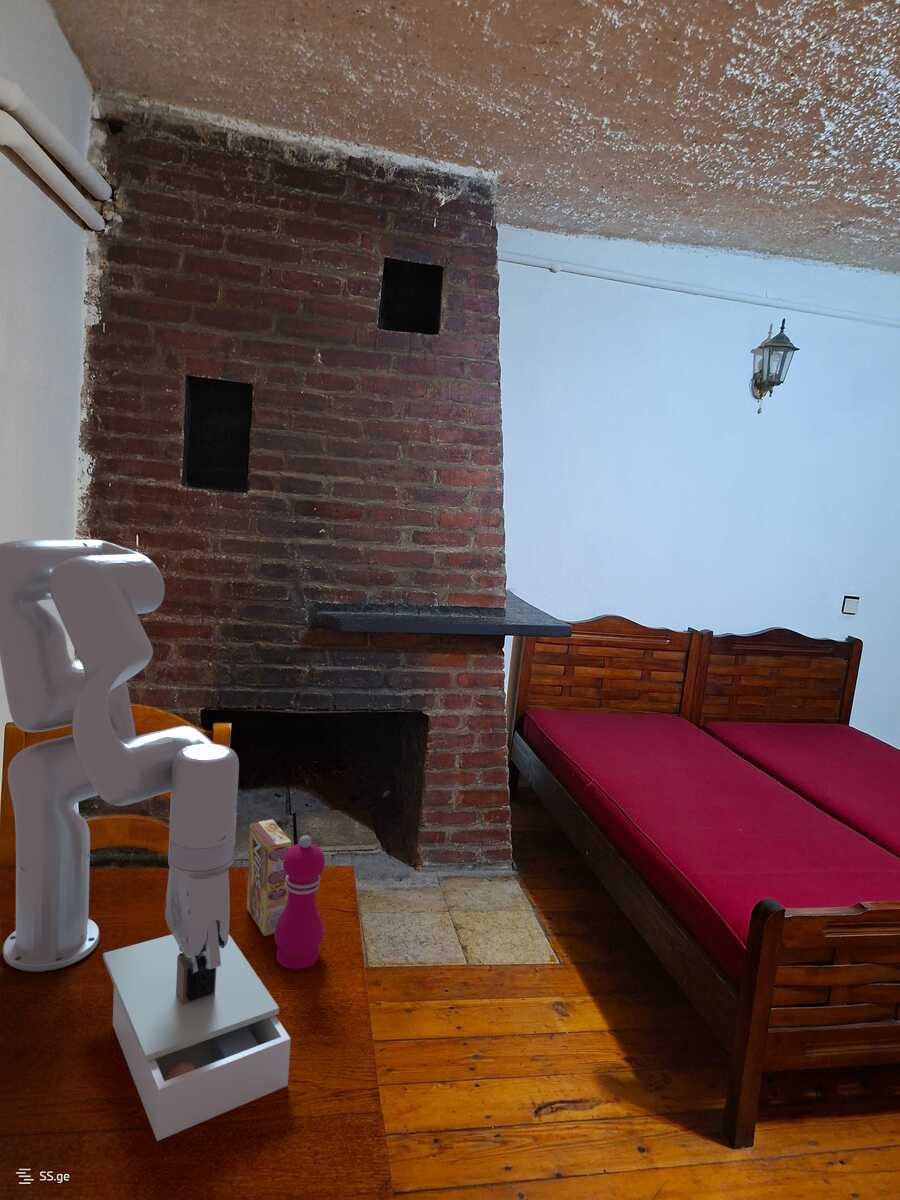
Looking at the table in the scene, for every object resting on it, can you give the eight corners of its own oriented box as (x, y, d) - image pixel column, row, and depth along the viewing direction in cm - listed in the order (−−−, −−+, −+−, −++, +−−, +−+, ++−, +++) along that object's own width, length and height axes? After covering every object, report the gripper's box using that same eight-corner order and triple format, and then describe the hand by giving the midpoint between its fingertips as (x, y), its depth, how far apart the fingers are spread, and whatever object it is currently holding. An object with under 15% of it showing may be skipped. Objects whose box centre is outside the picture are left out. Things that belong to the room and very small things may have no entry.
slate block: (211, 1064, 92) (213, 1034, 92) (243, 1052, 95) (245, 1023, 94) (223, 1086, 89) (225, 1056, 89) (256, 1073, 92) (257, 1044, 91)
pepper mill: (278, 979, 110) (286, 850, 107) (268, 950, 117) (276, 827, 113) (326, 970, 113) (336, 844, 110) (315, 942, 119) (323, 822, 116)
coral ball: (160, 1088, 88) (161, 1061, 88) (191, 1076, 90) (192, 1049, 90) (169, 1110, 85) (170, 1082, 85) (201, 1098, 87) (202, 1070, 87)
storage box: (112, 1030, 97) (114, 980, 96) (227, 992, 106) (229, 946, 105) (156, 1147, 82) (158, 1089, 81) (287, 1091, 91) (290, 1038, 89)
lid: (103, 958, 100) (103, 917, 99) (220, 926, 109) (221, 888, 108) (145, 1062, 84) (147, 1014, 83) (278, 1013, 93) (281, 970, 92)
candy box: (288, 931, 122) (294, 841, 119) (262, 937, 119) (268, 846, 117) (268, 903, 129) (273, 818, 127) (244, 909, 127) (249, 822, 124)
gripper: (151, 826, 95) (146, 960, 98) (191, 888, 82) (185, 1041, 85) (210, 815, 100) (204, 944, 102) (258, 872, 87) (249, 1018, 90)
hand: (195, 986), depth 94 cm, fingers closed on lid, 2 cm apart
